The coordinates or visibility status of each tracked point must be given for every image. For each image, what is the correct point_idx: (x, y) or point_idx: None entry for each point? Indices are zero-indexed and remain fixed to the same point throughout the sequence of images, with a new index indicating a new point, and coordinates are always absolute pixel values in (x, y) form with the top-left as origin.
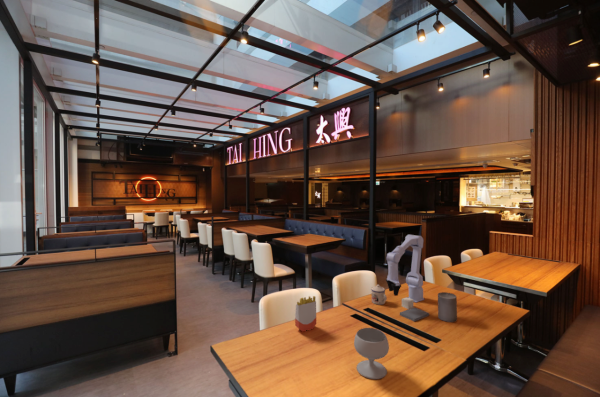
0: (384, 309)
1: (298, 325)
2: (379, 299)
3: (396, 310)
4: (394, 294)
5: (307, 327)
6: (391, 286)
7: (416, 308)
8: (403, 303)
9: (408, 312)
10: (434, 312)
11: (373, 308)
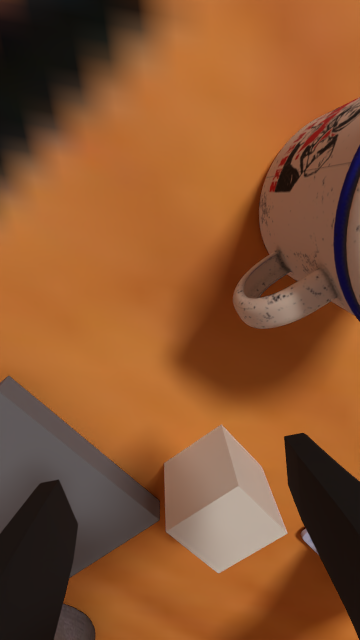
0: (126, 246)
1: None
2: (281, 210)
3: (118, 365)
4: (22, 505)
5: None
6: (343, 566)
7: (132, 528)
8: (211, 461)
9: (25, 462)
10: (125, 595)
11: (138, 98)
